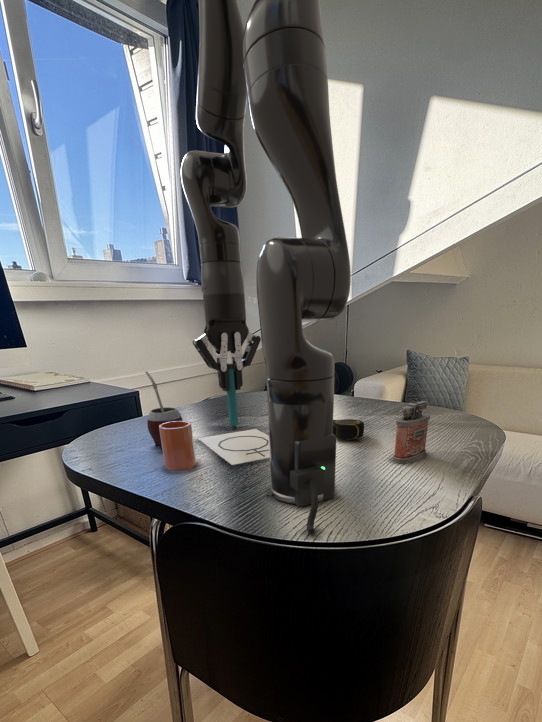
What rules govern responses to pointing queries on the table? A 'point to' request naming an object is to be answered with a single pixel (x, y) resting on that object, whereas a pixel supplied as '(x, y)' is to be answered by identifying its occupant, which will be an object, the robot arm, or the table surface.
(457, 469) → the table surface
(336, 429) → the tape measure
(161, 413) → the mate gourd
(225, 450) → the sketch pad
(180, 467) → the pen cup
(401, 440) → the lighter
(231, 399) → the pen
